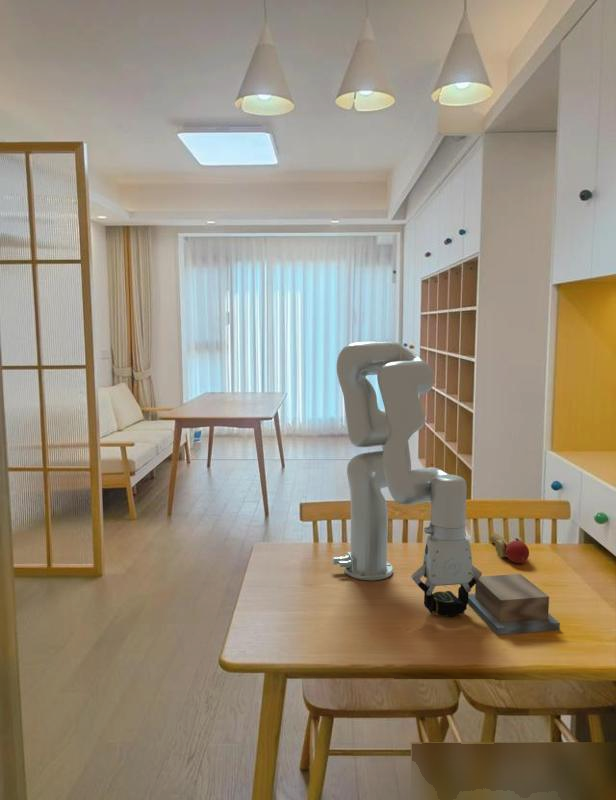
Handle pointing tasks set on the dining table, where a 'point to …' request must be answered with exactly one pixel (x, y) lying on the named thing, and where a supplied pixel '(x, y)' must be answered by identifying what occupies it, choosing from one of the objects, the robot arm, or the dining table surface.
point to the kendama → (510, 548)
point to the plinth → (512, 605)
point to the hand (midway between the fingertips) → (446, 607)
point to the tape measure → (447, 604)
